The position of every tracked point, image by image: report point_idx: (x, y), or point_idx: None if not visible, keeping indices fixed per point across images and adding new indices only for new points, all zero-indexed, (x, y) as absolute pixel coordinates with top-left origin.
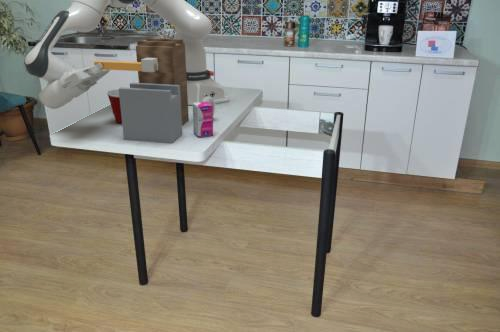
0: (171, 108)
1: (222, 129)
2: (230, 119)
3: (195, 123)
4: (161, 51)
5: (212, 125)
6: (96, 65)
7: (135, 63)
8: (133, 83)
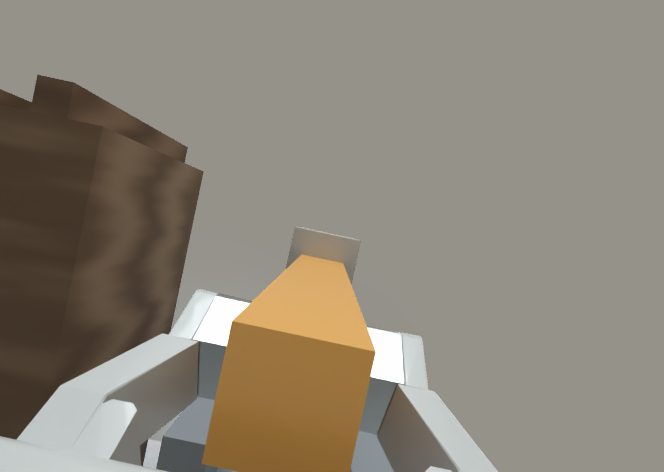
0: None
1: (156, 443)
2: None
3: None
4: (178, 186)
5: None
6: (424, 388)
7: (344, 267)
8: (202, 429)
